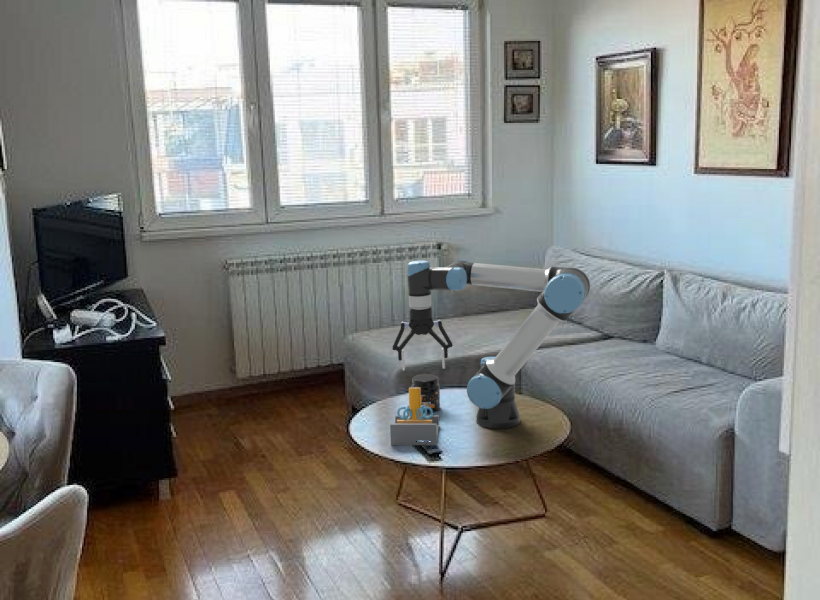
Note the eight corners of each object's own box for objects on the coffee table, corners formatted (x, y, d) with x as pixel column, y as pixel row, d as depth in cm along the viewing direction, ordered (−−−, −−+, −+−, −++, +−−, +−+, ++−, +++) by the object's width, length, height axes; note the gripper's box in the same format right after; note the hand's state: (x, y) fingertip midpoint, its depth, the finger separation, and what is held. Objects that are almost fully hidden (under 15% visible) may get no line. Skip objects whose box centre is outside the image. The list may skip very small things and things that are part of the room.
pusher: (432, 436, 281) (432, 419, 280) (432, 438, 280) (431, 421, 278) (397, 436, 282) (397, 419, 281) (397, 438, 281) (396, 421, 279)
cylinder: (395, 434, 280) (394, 389, 280) (399, 429, 291) (398, 386, 291) (431, 434, 279) (431, 389, 279) (434, 429, 289) (434, 386, 289)
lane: (438, 426, 292) (438, 407, 290) (436, 445, 274) (436, 424, 273) (395, 426, 293) (395, 407, 291) (390, 445, 275) (390, 424, 274)
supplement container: (410, 413, 306) (409, 381, 303) (413, 404, 316) (412, 373, 314) (438, 413, 304) (438, 382, 302) (441, 404, 315) (441, 373, 312)
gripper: (457, 303, 285) (459, 363, 289) (383, 306, 286) (387, 367, 290) (458, 307, 278) (461, 369, 282) (382, 311, 278) (386, 373, 282)
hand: (423, 368), depth 286 cm, fingers open, 13 cm apart
